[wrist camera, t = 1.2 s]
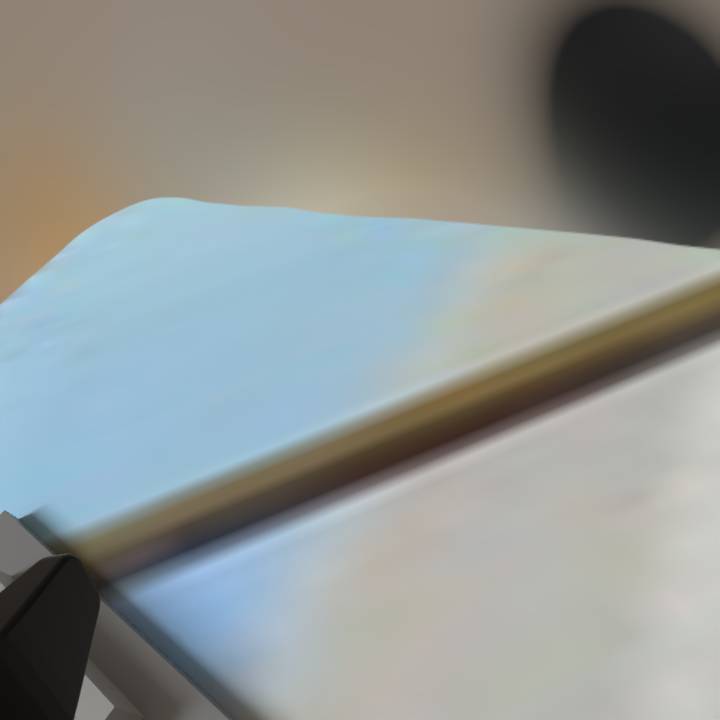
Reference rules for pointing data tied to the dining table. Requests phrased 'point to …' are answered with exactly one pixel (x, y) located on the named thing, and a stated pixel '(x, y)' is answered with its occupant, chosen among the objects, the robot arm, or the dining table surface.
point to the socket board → (114, 654)
